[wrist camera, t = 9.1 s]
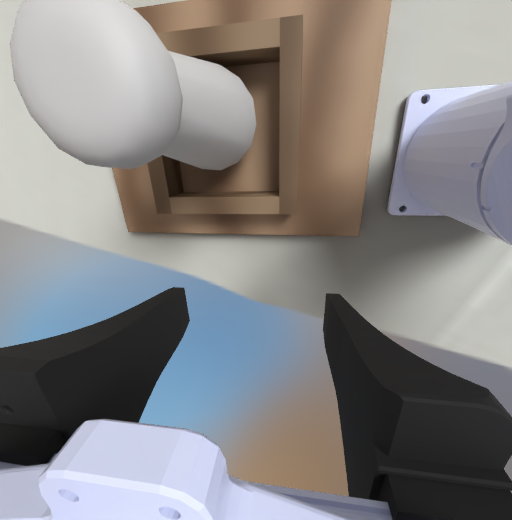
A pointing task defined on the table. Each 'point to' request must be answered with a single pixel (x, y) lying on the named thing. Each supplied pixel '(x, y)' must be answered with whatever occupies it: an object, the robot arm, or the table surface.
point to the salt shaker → (124, 89)
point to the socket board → (273, 118)
